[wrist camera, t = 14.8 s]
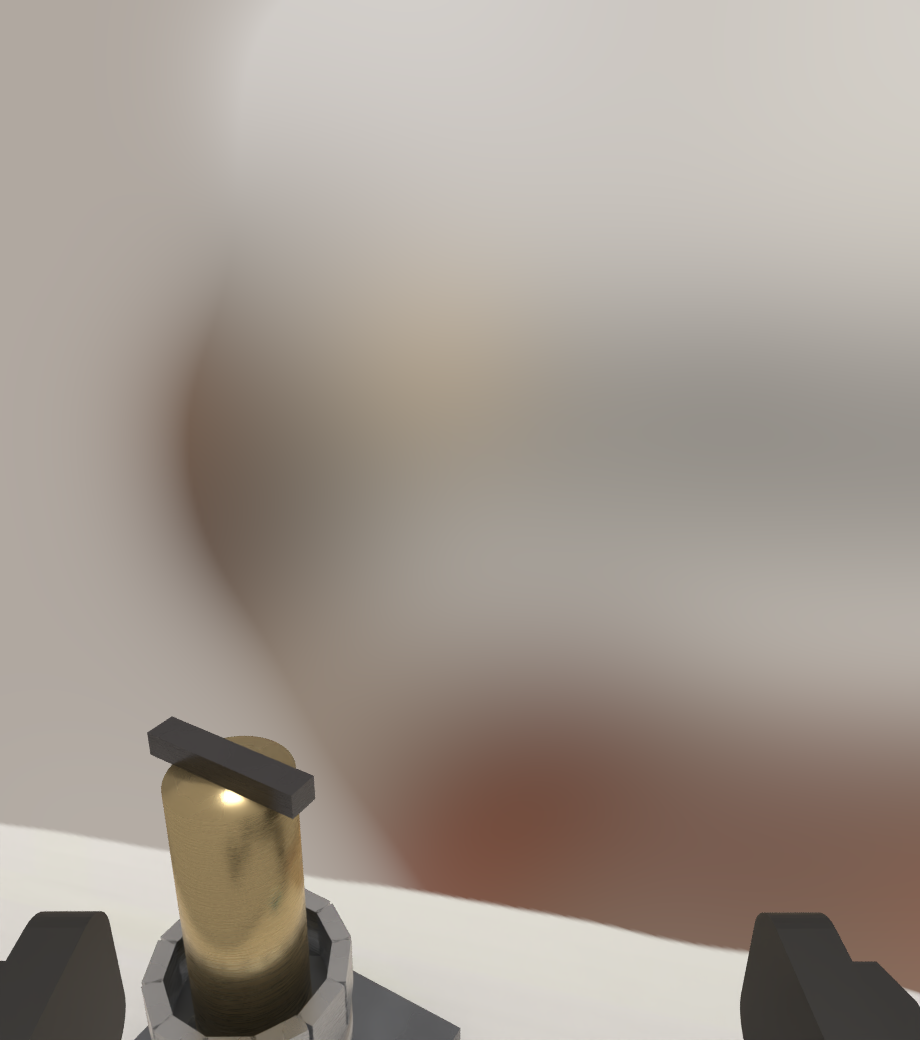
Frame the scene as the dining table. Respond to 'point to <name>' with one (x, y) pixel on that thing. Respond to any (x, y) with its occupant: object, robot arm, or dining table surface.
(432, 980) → the dining table surface
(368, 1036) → the pipe socket
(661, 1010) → the dining table surface
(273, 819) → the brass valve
